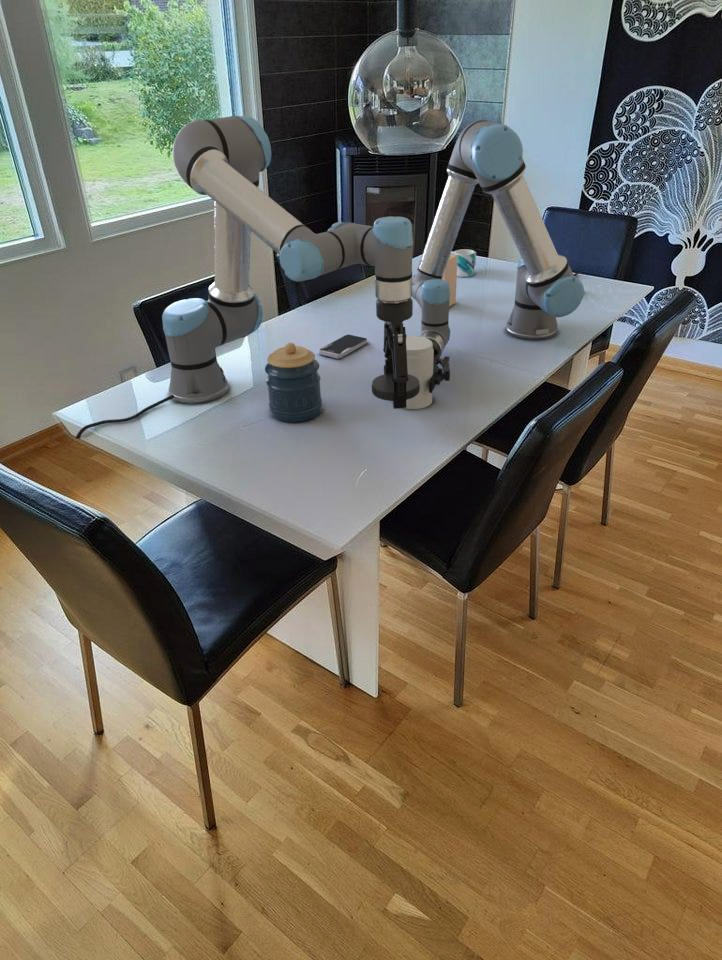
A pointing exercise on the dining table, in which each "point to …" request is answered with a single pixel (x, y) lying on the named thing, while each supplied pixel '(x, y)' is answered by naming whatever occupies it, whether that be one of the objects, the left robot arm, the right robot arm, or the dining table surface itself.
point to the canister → (293, 384)
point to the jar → (420, 369)
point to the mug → (465, 262)
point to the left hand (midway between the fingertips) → (395, 396)
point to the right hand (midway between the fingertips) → (409, 385)
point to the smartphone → (342, 346)
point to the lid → (384, 387)
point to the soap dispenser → (451, 277)
